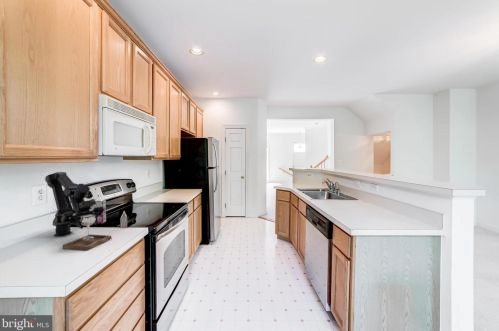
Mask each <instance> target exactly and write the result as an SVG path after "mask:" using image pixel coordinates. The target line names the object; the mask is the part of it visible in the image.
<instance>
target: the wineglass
mask: <svg viewBox="0 0 499 331" xmlns="http://www.w3.org/2000/svg"><path fill="white" fill-rule="evenodd" d="M95 216H96V215H85V216H80V218H79V220H80V222H81V224H82V226H85V227H86V229H87V235H88V237H85V236H84V237H85V238H83V240H89V239H92V238H94V237H91V236H89V235H90V234H89V233H90V227H91V226H92V225H94V224H93V223H94V222H95V220H96V218H95Z"/></svg>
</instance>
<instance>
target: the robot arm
mask: <svg viewBox="0 0 499 331" xmlns="http://www.w3.org/2000/svg"><path fill="white" fill-rule="evenodd" d="M44 181H45V182H46V184H47V187H49V188H51V189H52V194H53V196H54V197H53V198H54V202H55V206H56V209H57V210H56V212H55V214H54V216H55V217H54V218H53V220H52V226H54V227H55V233H54V234H53V236H57V237H59V236H60V237H65V236H66V235H70V234H72V233H74V232H73V231H71V230H72V229H71V224H73V225H74V226H76V227H77V228H79V229H83V228H84V227H83V226H84V225H82V224H81V222H80V220H81V219H80V218H79V217H81V216H85V215H90V214H91V215H96V216H95V218H96V220H95V222H94V224H93V225H94V226H97V225H98V224H97V216H100V215H101V214H102V213H103V211H104V208H103V207H102V206H101V207H95V209H94V210H92V211H89V210H90V209H91V206H93V205H95V204H96V201H95V200H96V199H95V198H91V199H89V200H85V198H86V197H87V196H88V194H89V193H90V190H91V189H90V186H88V185H86V184H84V183H79V184H78V183H75V182H73V180H72V179H71V178H70V177H69V175H67V172H65V171H57V172H53V173H50V174H48V175H46V176H45V177H44ZM63 188H64V189H63ZM65 196H66V197H67V198H68V197H69V203H70V204H72V207H73V208H72V207H68V205H67V204H68V203H67V201H66V197H65Z"/></svg>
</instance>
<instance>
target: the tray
mask: <svg viewBox="0 0 499 331" xmlns="http://www.w3.org/2000/svg"><path fill="white" fill-rule="evenodd" d="M89 236H91V237H94V238H92V239H89V240H83V238H85V237H88V234H87V235H85V236H82V237H80V238H77V239H75V240H72V241H70V242H67V243H65V244H62V250H73V251H89V250H91V249H93V248H95V247H98V246H100V245H102V244H104V243H106V242H108V241H111V240H112V235H109V234H106V235H105V234H89ZM110 239H111V240H110Z"/></svg>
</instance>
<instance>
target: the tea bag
mask: <svg viewBox="0 0 499 331" xmlns="http://www.w3.org/2000/svg"><path fill="white" fill-rule="evenodd" d="M122 212H123V213H122V215H121V217H120V229H124V228H128V216H127V214H126V211H125V210H124V211H122Z"/></svg>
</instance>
